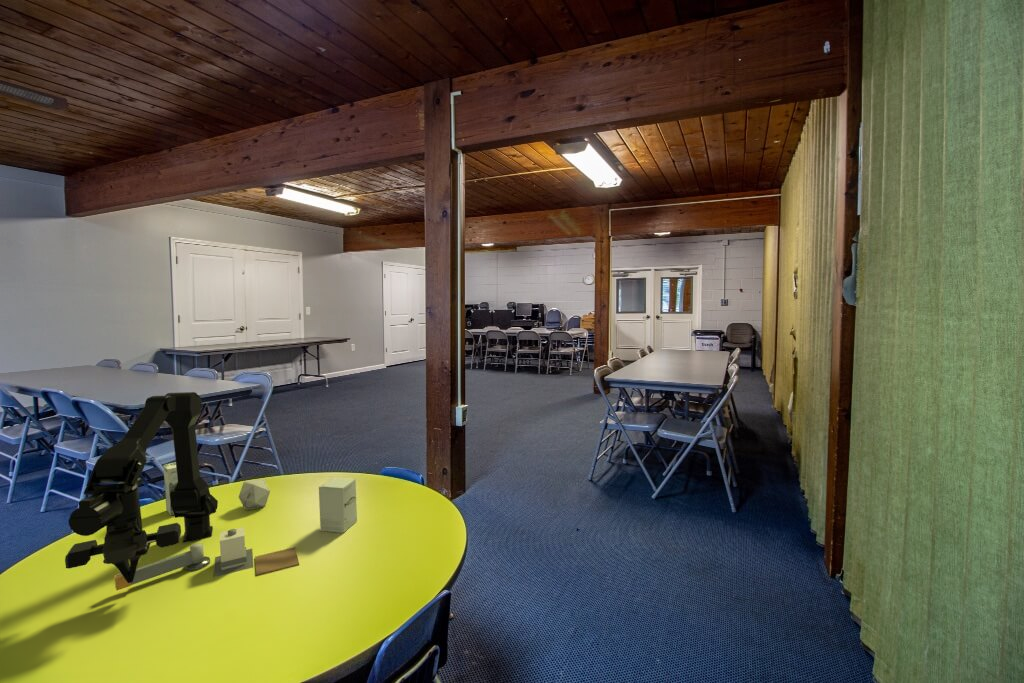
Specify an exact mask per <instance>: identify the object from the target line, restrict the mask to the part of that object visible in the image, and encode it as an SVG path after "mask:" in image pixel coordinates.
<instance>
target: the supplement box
mask: <svg viewBox="0 0 1024 683" xmlns="http://www.w3.org/2000/svg"><path fill="white" fill-rule="evenodd" d="M356 481H357V480H356V478H350V477H348V478H347V477H346V478H345V477H332V478H331V479H329V480H327V481H325V482H324V483H323V484H321V485H320V486H318V500H319V502H318V503H319V504H318V506H319V507H318V508H319V523H320V524H319V527H320V528H319V529H320V531H321V532H329V533H339V534H340V533H341V534H344V533H345V532H346V531H347V530H348V529H350V528H351V527H352V526H353V525H355V523H357V522H358V511H357V510H358V509H357V507H358V505H357V482H356Z"/></svg>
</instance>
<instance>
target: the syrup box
mask: <svg viewBox="0 0 1024 683" xmlns="http://www.w3.org/2000/svg"><path fill="white" fill-rule="evenodd" d="M162 466H163V467H162V468H163V479H164V480H163V481H164V482H163V483H164V491H165V492H164V494H165V496H164V498H165V508H166V511H167V512H168V514H169V515H170V516H174V513H173V510H172V507H170V505H171V499H170V492H171V491H173V490H174V488H175V486H176V485H177V483H178V478H177V469H176V461H175V462H171V463H166V464H163V465H162Z"/></svg>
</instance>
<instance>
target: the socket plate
mask: <svg viewBox="0 0 1024 683" xmlns="http://www.w3.org/2000/svg"><path fill="white" fill-rule="evenodd" d="M246 553H247V562H246V564H243V565H239V566H235V567H231V568H227V569H223V570H222V568H220V557H221V555H218V556H214V557H215V558H214V569H213V578H216V577H219V576H224V575H227V574H232V573H237V572H239V571H240V572H241V571H244V570H248V569H252V568H254V557H253V556H254V555H253V548H248V549H246Z"/></svg>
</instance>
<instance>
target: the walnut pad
mask: <svg viewBox="0 0 1024 683" xmlns="http://www.w3.org/2000/svg"><path fill="white" fill-rule="evenodd" d="M254 561H255V572H256V573H255V574H256V575H255V576H256V577H258V576H262V575H265V574H270V573H272V572H273V573H274V572H277V571H281V570H284V569H285V570H286V569H288V568H292V567H297V566H300V561H299V557H298V554H297V548H296V546H294V547H289V548H286V549H285V548H284V549H282V550H278V551H277V550H276V551H272V552H270V553H266V554H265V553H264V554H259V555H256V556H254Z"/></svg>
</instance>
